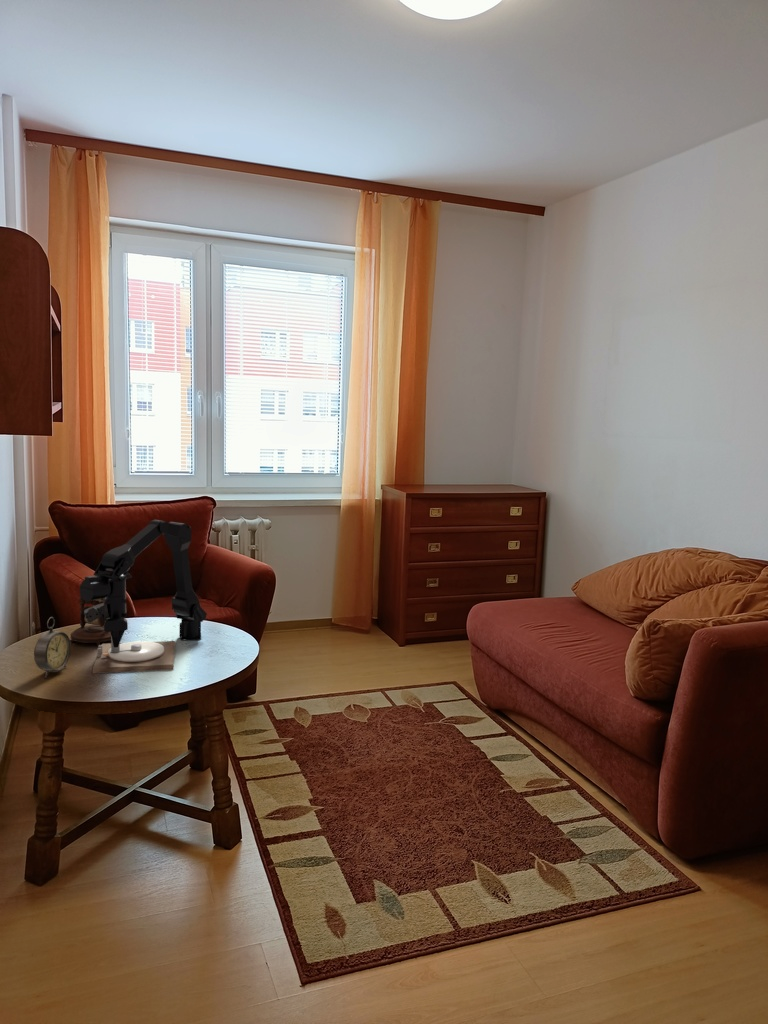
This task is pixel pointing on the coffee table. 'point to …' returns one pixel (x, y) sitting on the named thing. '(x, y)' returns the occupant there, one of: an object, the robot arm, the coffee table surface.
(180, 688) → the coffee table surface
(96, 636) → the wooden thread spool stand
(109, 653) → the dial
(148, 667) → the stand plate
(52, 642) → the alarm clock
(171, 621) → the coffee table surface
